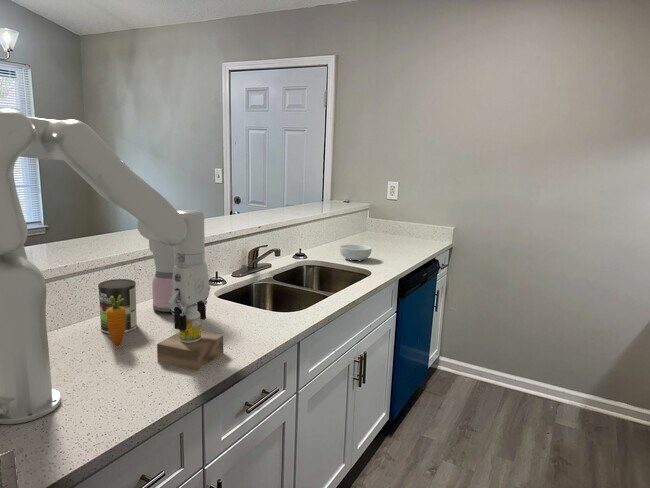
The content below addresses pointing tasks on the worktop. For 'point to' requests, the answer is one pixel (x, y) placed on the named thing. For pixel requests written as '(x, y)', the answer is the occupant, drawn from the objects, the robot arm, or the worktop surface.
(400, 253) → the worktop surface
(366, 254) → the cereal bowl
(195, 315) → the supplement bottle
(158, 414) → the worktop surface
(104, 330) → the food can
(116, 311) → the carrot
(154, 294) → the blender
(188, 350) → the brown cardboard box
